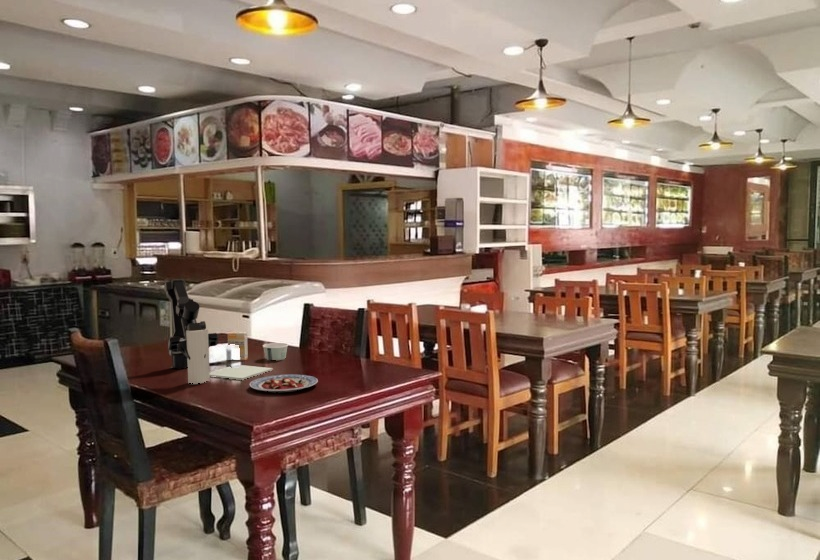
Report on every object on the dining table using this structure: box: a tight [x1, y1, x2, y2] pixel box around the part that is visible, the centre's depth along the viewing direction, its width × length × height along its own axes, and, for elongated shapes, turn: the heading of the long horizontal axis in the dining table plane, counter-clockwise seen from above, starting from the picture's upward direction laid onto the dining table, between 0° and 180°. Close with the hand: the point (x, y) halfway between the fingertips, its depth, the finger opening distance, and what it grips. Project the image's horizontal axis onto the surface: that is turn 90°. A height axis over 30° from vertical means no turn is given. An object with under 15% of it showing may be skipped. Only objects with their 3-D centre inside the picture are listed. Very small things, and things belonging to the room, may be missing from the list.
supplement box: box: [227, 331, 249, 362], centre depth 291 cm, size 8×5×13 cm, turn 88°
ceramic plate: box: [249, 373, 319, 393], centre depth 238 cm, size 26×26×3 cm
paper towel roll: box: [186, 329, 211, 385], centre depth 245 cm, size 7×6×21 cm
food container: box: [262, 342, 289, 361], centre depth 293 cm, size 12×12×6 cm
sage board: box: [209, 364, 274, 381], centre depth 262 cm, size 20×20×1 cm
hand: (197, 358), depth 244 cm, fingers open, 5 cm apart
